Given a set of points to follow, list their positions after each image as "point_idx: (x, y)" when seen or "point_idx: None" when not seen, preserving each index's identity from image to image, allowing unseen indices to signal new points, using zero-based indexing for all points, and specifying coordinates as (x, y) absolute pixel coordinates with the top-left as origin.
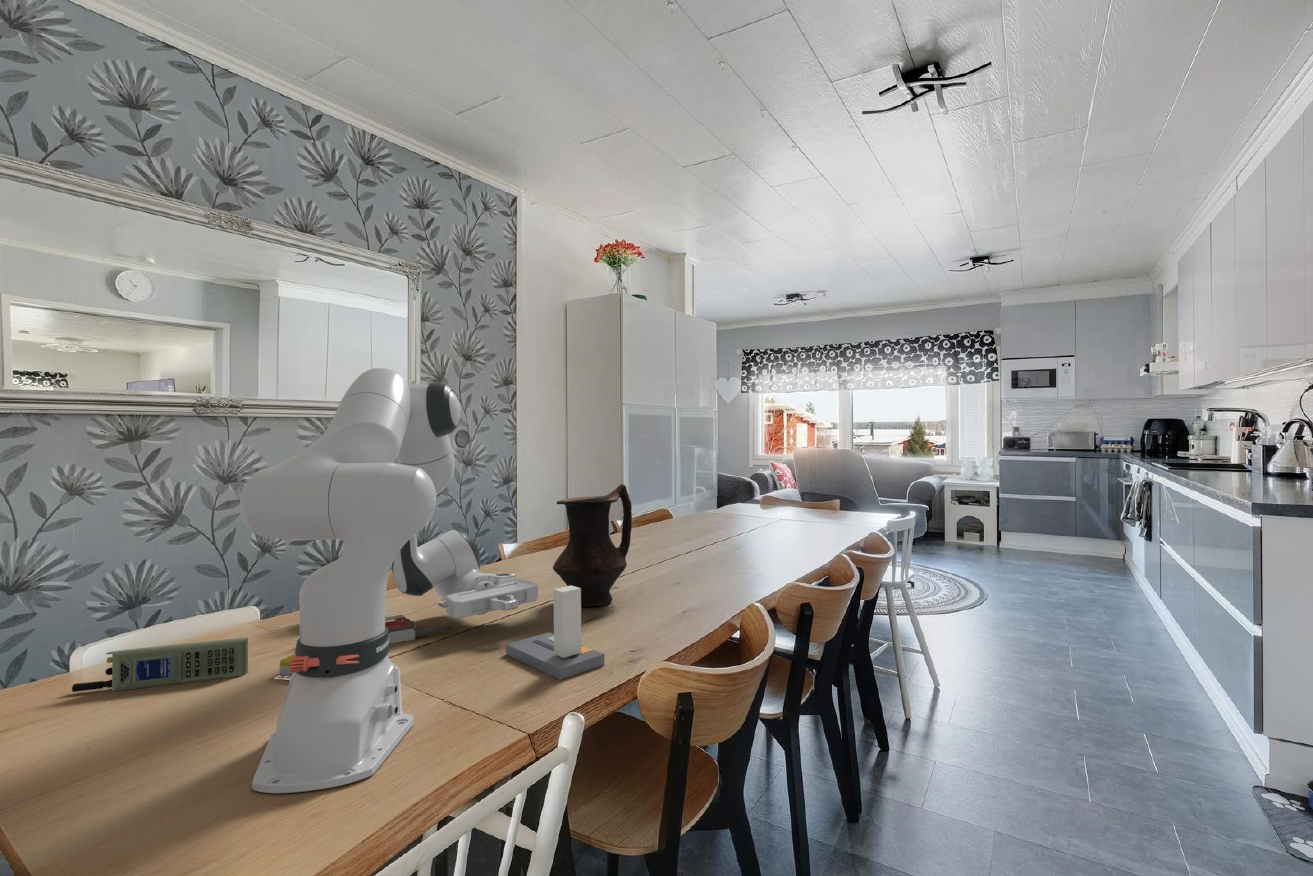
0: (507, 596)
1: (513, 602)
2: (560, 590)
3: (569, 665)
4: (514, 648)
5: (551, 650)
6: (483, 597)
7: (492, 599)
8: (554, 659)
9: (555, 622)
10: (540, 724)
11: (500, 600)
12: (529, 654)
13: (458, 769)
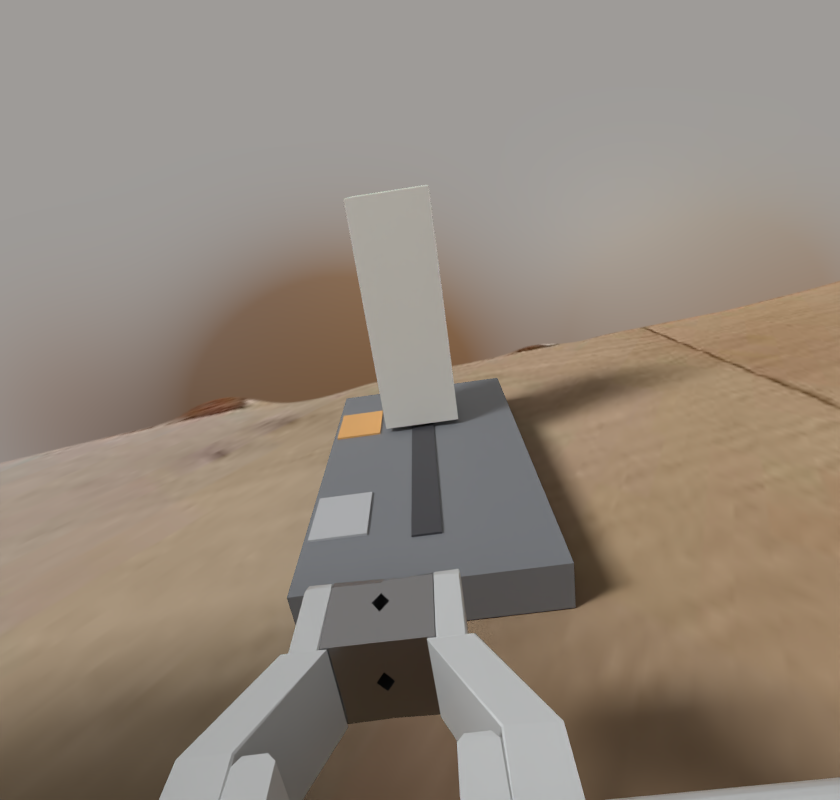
0: (274, 761)
1: (364, 581)
2: (419, 186)
3: (466, 382)
4: (552, 511)
5: (439, 448)
6: (732, 793)
7: (553, 748)
8: (475, 409)
9: (443, 311)
10: (615, 335)
11: (461, 657)
12: (524, 449)
13: (766, 304)
